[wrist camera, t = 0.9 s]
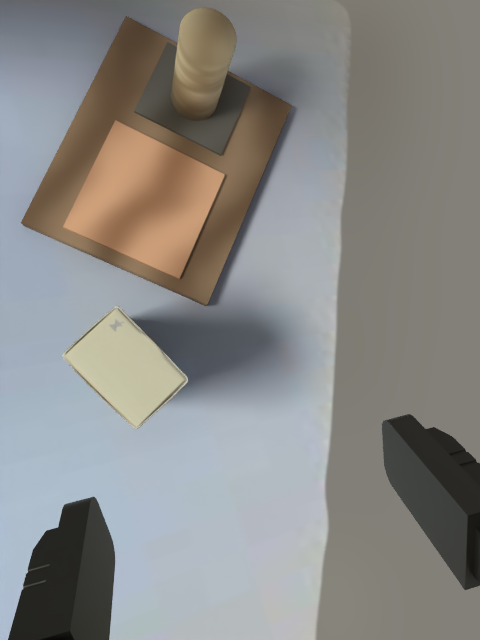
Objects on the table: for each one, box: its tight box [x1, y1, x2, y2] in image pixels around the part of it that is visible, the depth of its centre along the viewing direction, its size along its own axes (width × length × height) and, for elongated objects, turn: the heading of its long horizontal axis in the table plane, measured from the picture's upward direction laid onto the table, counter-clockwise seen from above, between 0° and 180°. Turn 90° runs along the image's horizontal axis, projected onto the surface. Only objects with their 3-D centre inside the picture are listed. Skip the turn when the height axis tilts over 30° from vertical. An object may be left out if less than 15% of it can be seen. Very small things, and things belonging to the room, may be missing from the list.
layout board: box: [21, 8, 292, 306], centre depth 35 cm, size 16×20×9 cm
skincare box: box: [63, 306, 188, 429], centre depth 32 cm, size 6×4×12 cm
